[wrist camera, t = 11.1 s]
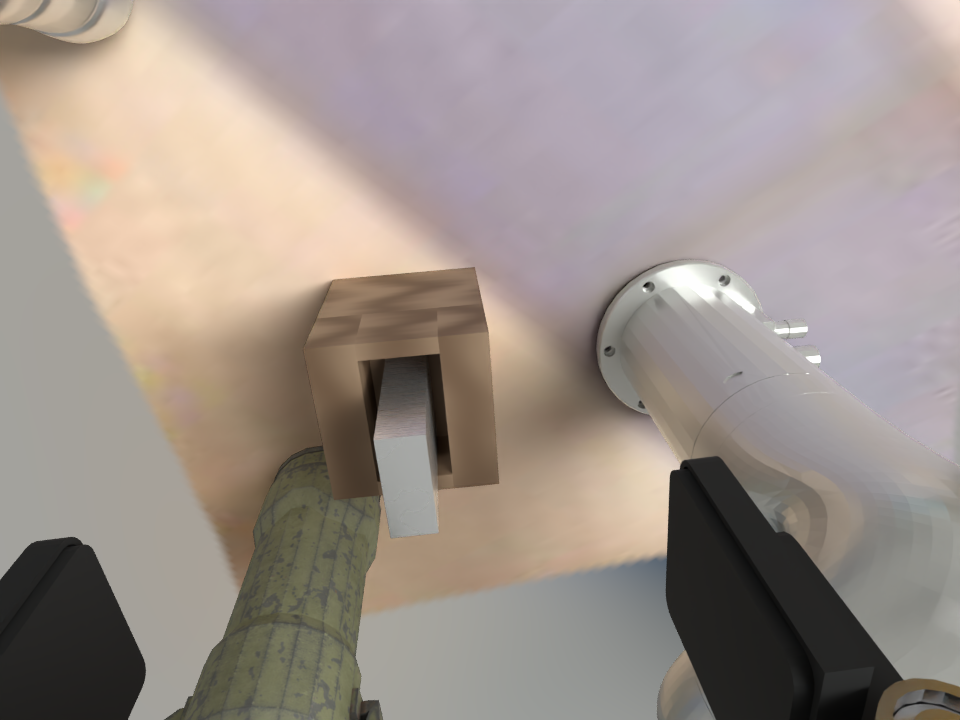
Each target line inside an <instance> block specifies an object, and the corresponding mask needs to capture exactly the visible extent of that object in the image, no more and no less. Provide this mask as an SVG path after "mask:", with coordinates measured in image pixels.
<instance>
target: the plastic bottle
mask: <svg viewBox="0 0 960 720" xmlns="http://www.w3.org/2000/svg"><path fill="white" fill-rule="evenodd" d="M132 7H133V0H0V24H14V25H18V26H22V27H26V28H30V29H33V30H35V31H37V32H40V33H42V34H44V35H47V36H49V37H52V38H55V39H59V40H62V41H66V42H71V43H91V42H96V41H99V40H102V39H105V38H107V37H109V36H111V35H113V34H115V33H116V32H118V31H119V30H120V29H121V28H122V27H123V26H124V24H125V23H126V22H127V20H128V18H129V16H130V13H131V11H132Z"/></svg>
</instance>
